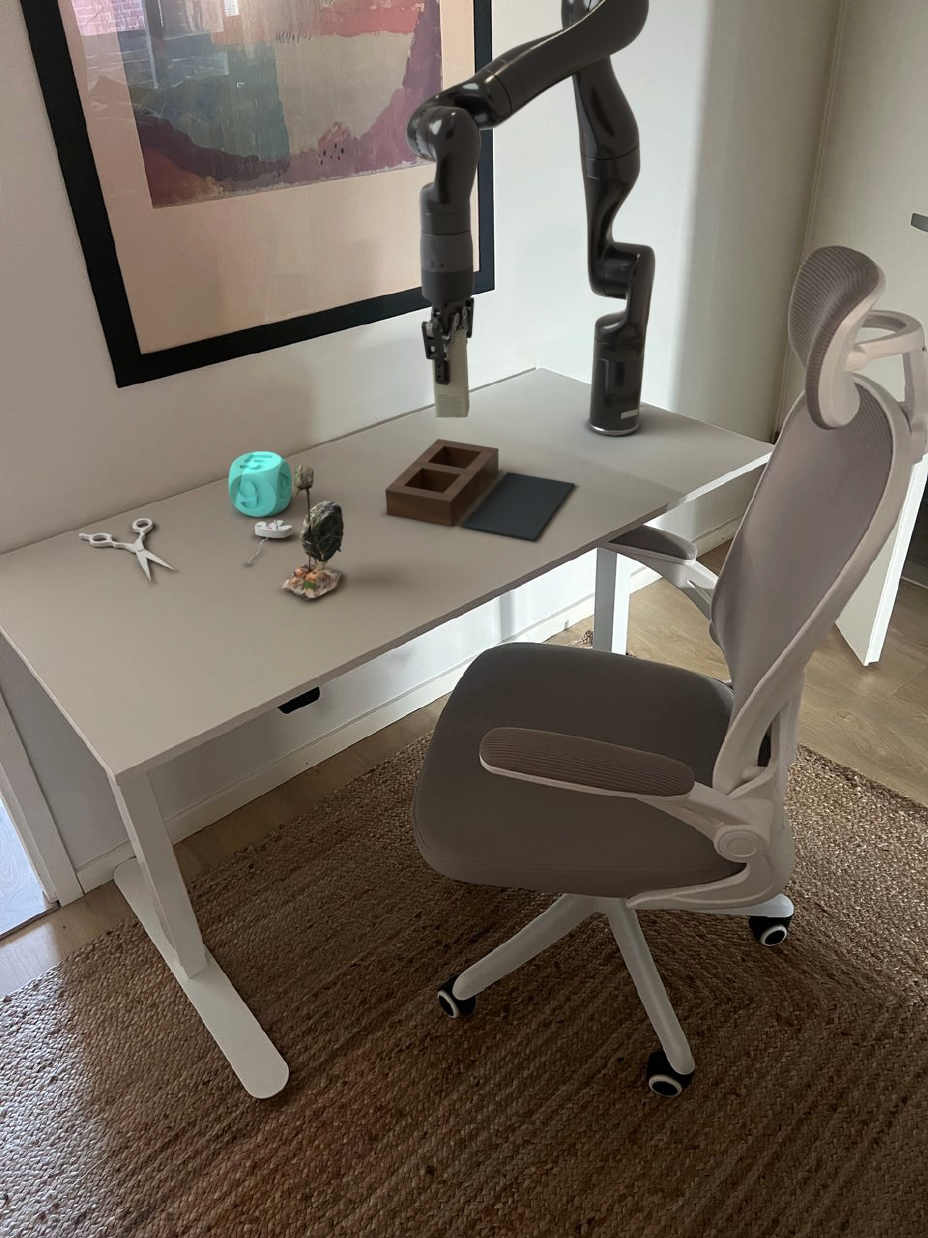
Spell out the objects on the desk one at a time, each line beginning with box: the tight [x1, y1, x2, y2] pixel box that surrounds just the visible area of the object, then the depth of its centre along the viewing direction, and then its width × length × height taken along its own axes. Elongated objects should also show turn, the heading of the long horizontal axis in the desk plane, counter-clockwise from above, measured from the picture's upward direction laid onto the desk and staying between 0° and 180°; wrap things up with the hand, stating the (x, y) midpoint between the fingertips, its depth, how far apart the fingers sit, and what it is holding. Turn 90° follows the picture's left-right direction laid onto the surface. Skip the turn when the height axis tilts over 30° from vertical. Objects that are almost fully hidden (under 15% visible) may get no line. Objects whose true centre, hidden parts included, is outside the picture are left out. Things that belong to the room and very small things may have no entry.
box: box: [431, 327, 471, 419], centre depth 149 cm, size 5×4×13 cm
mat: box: [462, 471, 575, 542], centre depth 161 cm, size 20×12×1 cm, turn 157°
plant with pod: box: [281, 463, 345, 601], centre depth 138 cm, size 8×11×20 cm
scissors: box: [78, 518, 176, 581], centre depth 151 cm, size 11×1×20 cm
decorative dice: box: [228, 451, 293, 518], centre depth 161 cm, size 8×8×8 cm
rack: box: [384, 438, 499, 527], centre depth 164 cm, size 21×11×4 cm, turn 157°
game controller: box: [248, 519, 293, 565], centre depth 151 cm, size 6×12×3 cm, turn 2°
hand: (450, 376), depth 150 cm, fingers closed on box, 5 cm apart
